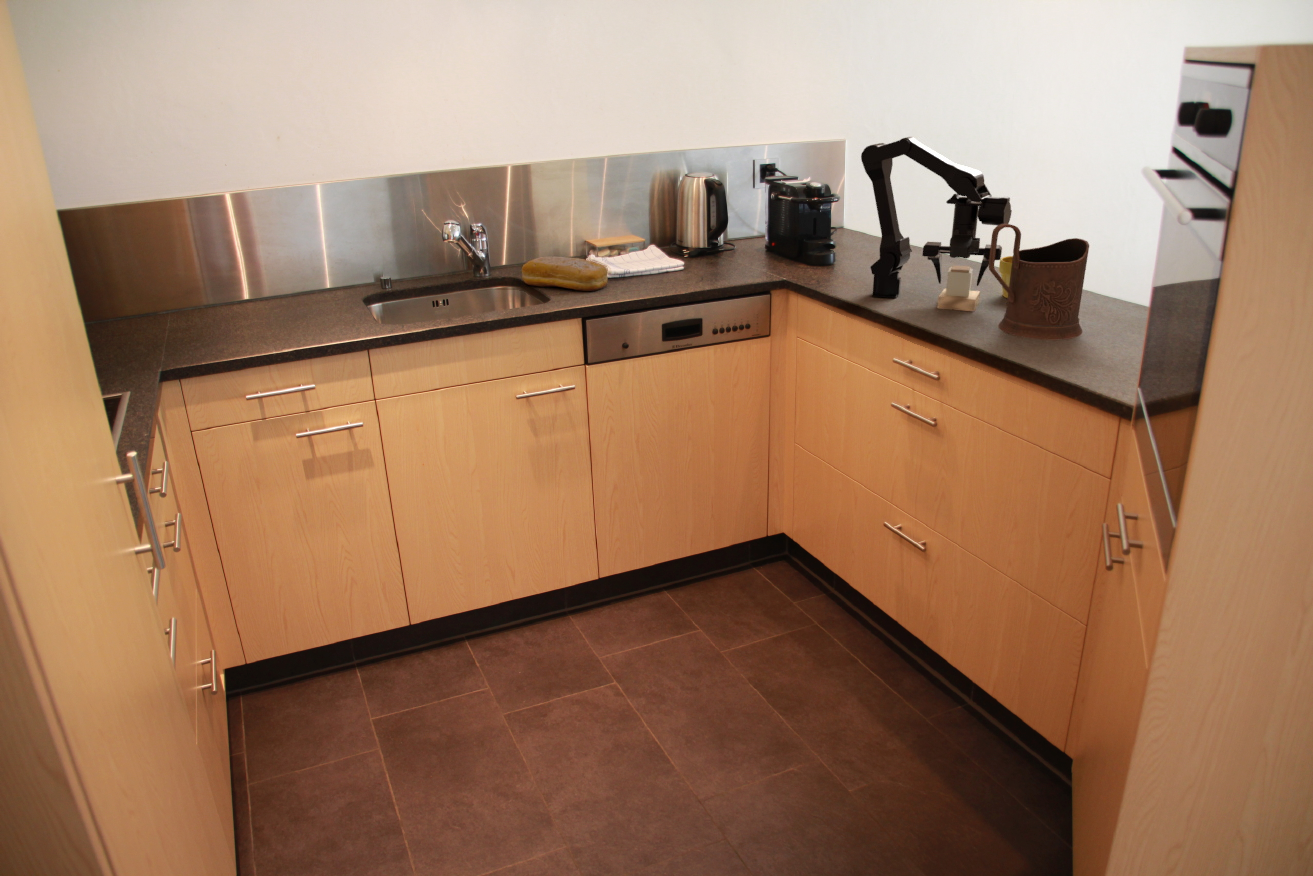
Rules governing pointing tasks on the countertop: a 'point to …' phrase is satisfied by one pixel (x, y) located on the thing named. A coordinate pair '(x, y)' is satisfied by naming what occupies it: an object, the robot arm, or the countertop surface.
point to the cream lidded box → (959, 281)
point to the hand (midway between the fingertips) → (958, 284)
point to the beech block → (959, 301)
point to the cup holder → (1043, 288)
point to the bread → (565, 273)
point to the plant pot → (1005, 271)
